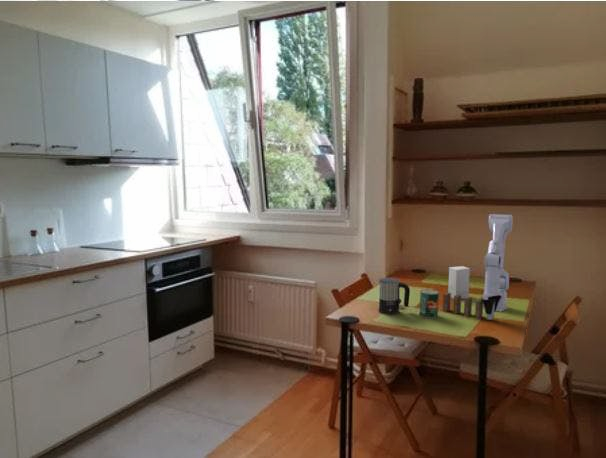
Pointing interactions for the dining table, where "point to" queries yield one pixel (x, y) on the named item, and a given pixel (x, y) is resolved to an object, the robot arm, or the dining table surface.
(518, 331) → the dining table surface
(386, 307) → the milk frother
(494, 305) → the domino
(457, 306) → the domino
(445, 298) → the domino
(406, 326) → the dining table surface
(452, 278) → the skincare box
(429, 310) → the canned tomato
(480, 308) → the domino
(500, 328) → the dining table surface
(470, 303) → the domino
